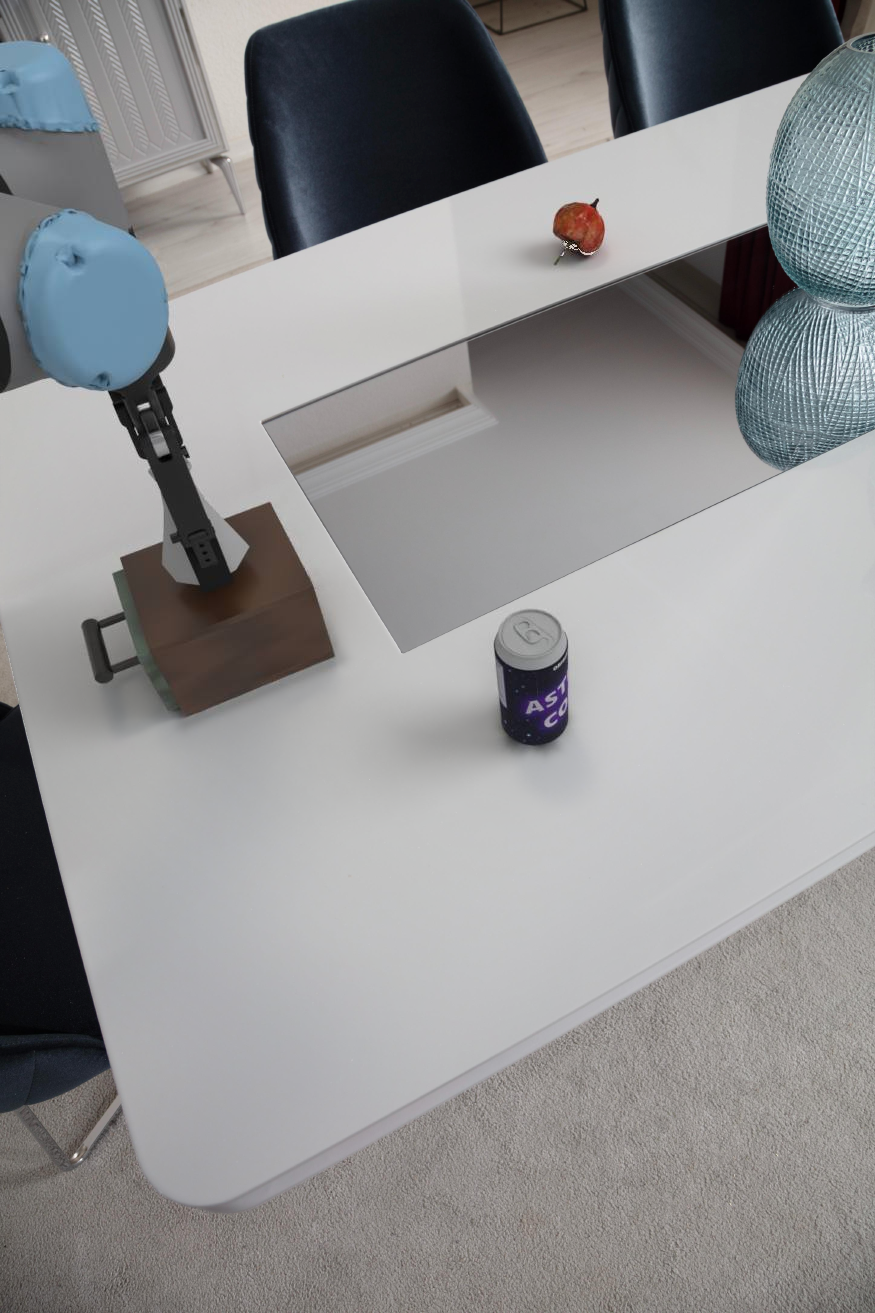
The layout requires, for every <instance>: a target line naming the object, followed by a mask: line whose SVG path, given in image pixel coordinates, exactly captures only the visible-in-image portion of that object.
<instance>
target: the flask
mask: <svg viewBox="0 0 875 1313" xmlns="http://www.w3.org/2000/svg"><path fill="white" fill-rule="evenodd" d="M183 457H184V459H185V462H186V464H187V467H188V469H189V472H190V474H191V477H192V479H193V482H194V484H195V487H196V489H197V492H198V494H199V497H200V499H201V502H202V504H203V507H204V509H205V512H206V514H207V517H208V519H210V521H211V524H212V527H214V529H215V532H216V533H215V534H216V537H217V539H218V542H219V545H220V547H221V550H222V552H223V555H224V557H225V560H226V562H227V565H228V567H229V570H230V572H233V571H235V570H236V569H237V567H238V566H239V564H240V562H241V560H242V559H243V557H244V555H245V554H246V552H247V550H248V548H249V545H248V544H247V543H246V542H245V541H244V540H243V539H242V538H241V537H240V536H239V535H238V534H237V533H236V532H235V531H234V529H233V528H232V527H231V526H230V525H229V524H228V523H227V522H226V521H225V520H224V519H225V518H223V517H222V516H221V515H220V514H219V513H218V512H217V510H215V509H214V507H213V506H212V505H211V504H210V503H209V502H208V501H207V500H206V499H205V496H204V495H203V494H202V492H201V491H200V489H199V488H198V486H197V484H196V483H195V481H194V478H193V476H192V473H191V470H192V463H191V462H190V461H189V459H188V458H187V459H186V458H185V456H184V455H183ZM147 472H148V474H149V476H150V477H151V478H152V480H154V482H156V479H155V477H154V475H153V473H152V470H151V468H150V467H149V469H147ZM159 491H160V490H159ZM160 496H161V497H160V498H161V503H162V508H163V533H162V534H163V537H162V542H163V551H162V565H163V566H164V567H165V568H166V570H167V571H168V572H169V573H170V574H171V576H172V577H173V578H174V579H175V581H176V582H181V583H188V584H195V585H200V584H199V582H198V580H197V577H196V575H195V573H194V571H193V568H192V566H191V564H190V561H189V559H188V557H187V555H186V552H185V550H184V548H183V545H181V542H178V543H175V544H173V543H172V541H171V538H170V534H173V533H176V531H177V528H176V526H175V523H174V521H173V519H172V517H171V514H170V512H169V510H168V507H167V505H166V503H165V500H164V498H163V496H162V493H161V491H160Z"/></svg>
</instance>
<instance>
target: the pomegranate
mask: <svg viewBox="0 0 875 1313" xmlns="http://www.w3.org/2000/svg"><path fill="white" fill-rule="evenodd" d="M599 202H600V198H599V197H597V198H595V200H594V201H593V202H591V203H590V204H589V203H586V202H578V201H573V202H570V203H565V204H564V205H562V206H561V207H559V209H558V210H557V212H556V213H555V214H554V219H553V221H552V222H553V223H552V234H553V235H554V236H555V237H556V238H558V239H559V240H561V241H562V240H564V241H565V243H567V242H568V243H567V245H566V247H568V248H567V250H569V251H571V252H575V253H580V255H581V256H583V257H586V258H589V257H590V258H591V257H592V256H593V255H594V254H592V255H584V254H582V253H581V252H580V250H581V251H582V252H585V253H591V252H594V251H596V250H597V249H598V250H599V249H600V248H601V246H602V244H603V242H604V237H605V232H606V226H605V225H606V224H605V220H604V219H603V216H602V214H600V213H599V210H598V209H597V206H598V203H599ZM566 241H567V242H566ZM572 244H575V245H577V247H574V246H573V245H572ZM570 245H572V246H573V247H574V249H578V248H579V249H580V250H579V249H578V250H574V249H572V248H571V249H569V248H570V247H569V246H570ZM566 247H565V246H564V248H566ZM598 250H597V251H598ZM597 251H596V252H597ZM563 257H564V256H560V255H559V256H558V257H557V259H556V260H555V261H554V263H553V266H556V265H557V264H558V263H559V262H560V260H561V258H563Z"/></svg>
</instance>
